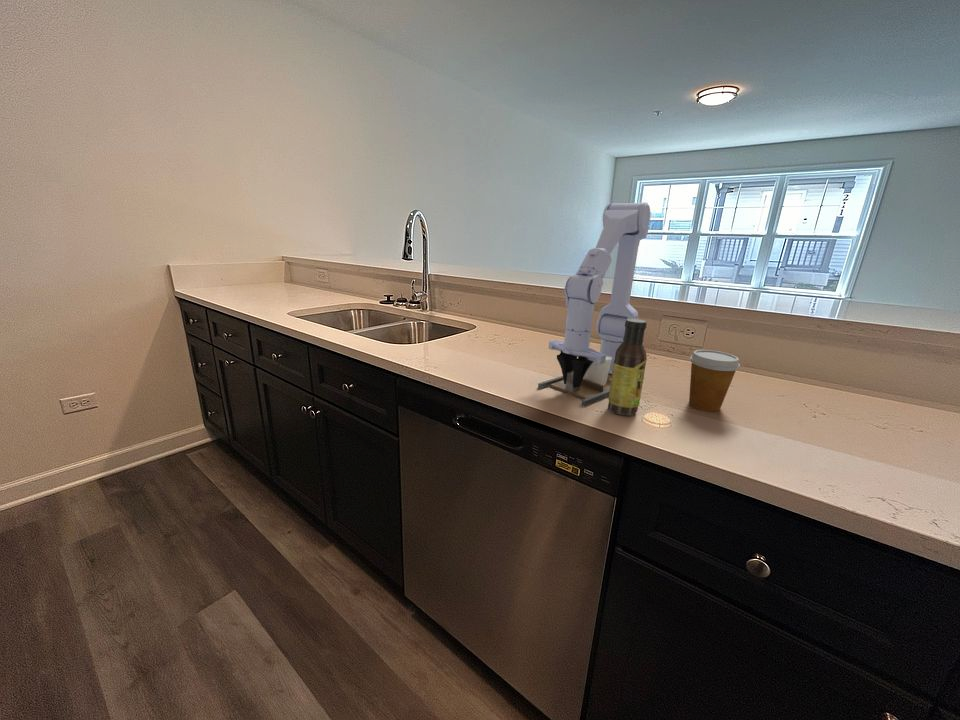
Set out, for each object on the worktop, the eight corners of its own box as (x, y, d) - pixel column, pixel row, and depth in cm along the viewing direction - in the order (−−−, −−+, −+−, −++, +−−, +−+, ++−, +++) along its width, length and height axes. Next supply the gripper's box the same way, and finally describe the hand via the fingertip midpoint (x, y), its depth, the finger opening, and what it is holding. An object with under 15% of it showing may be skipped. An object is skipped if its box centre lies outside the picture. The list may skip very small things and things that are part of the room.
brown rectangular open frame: (586, 374, 107) (588, 357, 106) (623, 386, 99) (626, 368, 98) (550, 386, 98) (552, 367, 96) (588, 401, 90) (590, 380, 88)
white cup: (610, 388, 96) (614, 361, 94) (581, 385, 98) (584, 358, 95) (607, 379, 103) (610, 353, 101) (580, 376, 104) (583, 350, 102)
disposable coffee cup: (723, 401, 93) (734, 352, 89) (733, 418, 84) (746, 364, 80) (678, 394, 96) (688, 347, 92) (684, 410, 87) (695, 358, 83)
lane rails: (581, 373, 108) (582, 369, 108) (626, 388, 98) (627, 384, 98) (537, 387, 97) (538, 383, 96) (584, 406, 87) (584, 401, 87)
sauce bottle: (638, 419, 82) (654, 325, 76) (606, 414, 84) (620, 322, 77) (636, 407, 88) (651, 318, 82) (607, 402, 89) (619, 316, 83)
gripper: (542, 324, 92) (537, 379, 97) (595, 338, 82) (588, 398, 86) (561, 321, 97) (556, 373, 101) (614, 333, 87) (606, 391, 91)
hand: (572, 384), depth 94 cm, fingers closed on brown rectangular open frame, 2 cm apart
